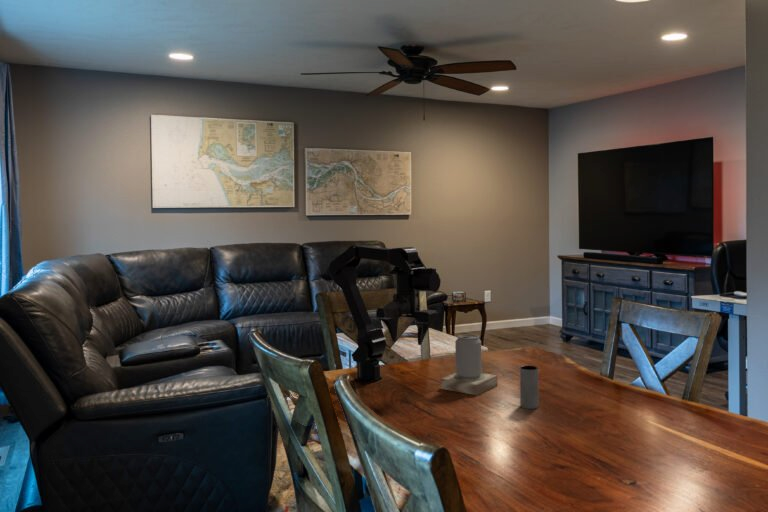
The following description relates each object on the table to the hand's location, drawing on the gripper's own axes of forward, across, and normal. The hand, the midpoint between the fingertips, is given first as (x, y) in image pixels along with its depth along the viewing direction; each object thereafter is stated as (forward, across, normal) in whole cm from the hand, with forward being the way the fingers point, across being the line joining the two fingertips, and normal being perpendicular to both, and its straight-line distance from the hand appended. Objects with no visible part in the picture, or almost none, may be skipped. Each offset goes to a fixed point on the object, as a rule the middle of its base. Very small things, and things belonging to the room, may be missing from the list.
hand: (406, 343), depth 180 cm
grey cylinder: (+13, +37, +3) cm, 39 cm away
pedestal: (+13, +15, +10) cm, 22 cm away
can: (+10, +15, +10) cm, 20 cm away
